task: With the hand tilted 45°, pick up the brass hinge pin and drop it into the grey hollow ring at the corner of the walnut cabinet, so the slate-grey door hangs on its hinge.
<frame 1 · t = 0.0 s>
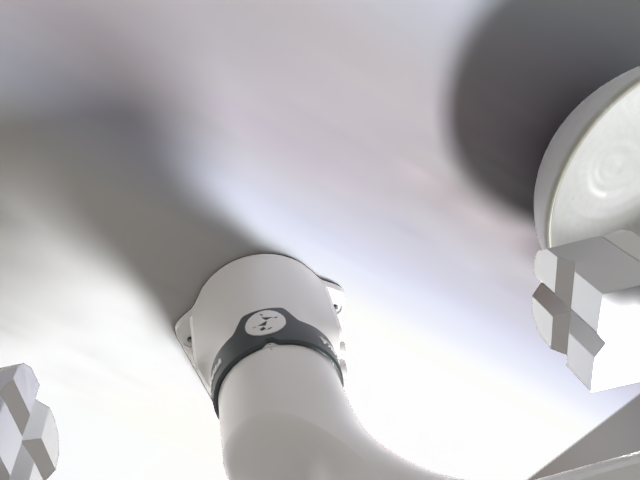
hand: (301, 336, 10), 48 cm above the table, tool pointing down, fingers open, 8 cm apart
decorative bowl: (598, 157, 67), on the table
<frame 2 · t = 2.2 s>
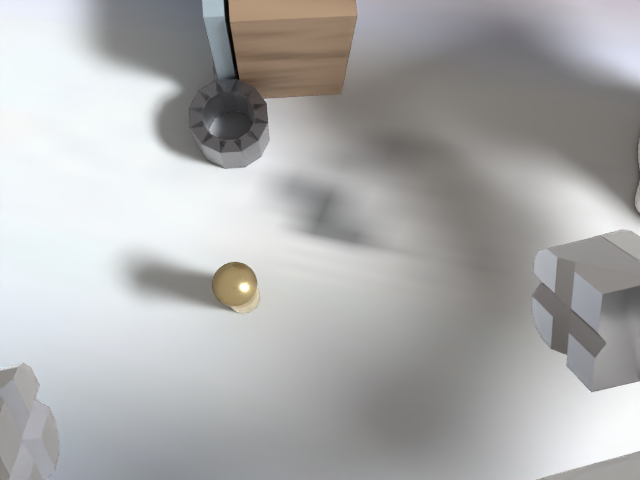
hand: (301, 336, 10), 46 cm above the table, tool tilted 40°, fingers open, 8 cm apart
hinge pin: (243, 296, 55), on the table
grey hollow ring: (232, 133, 58), on the table
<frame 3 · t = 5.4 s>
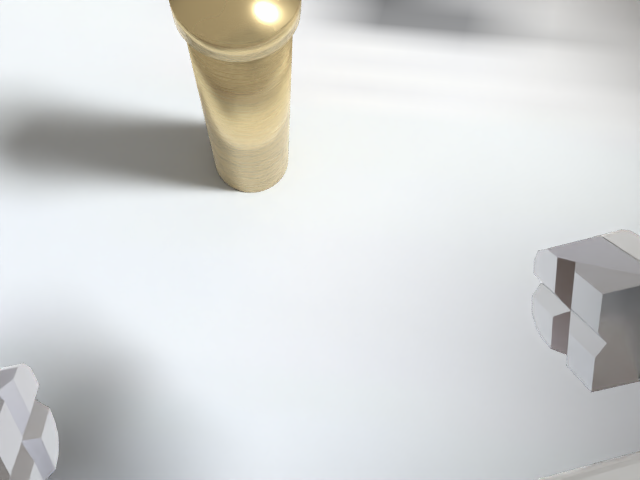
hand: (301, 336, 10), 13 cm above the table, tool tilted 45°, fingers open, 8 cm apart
hinge pin: (251, 158, 25), on the table
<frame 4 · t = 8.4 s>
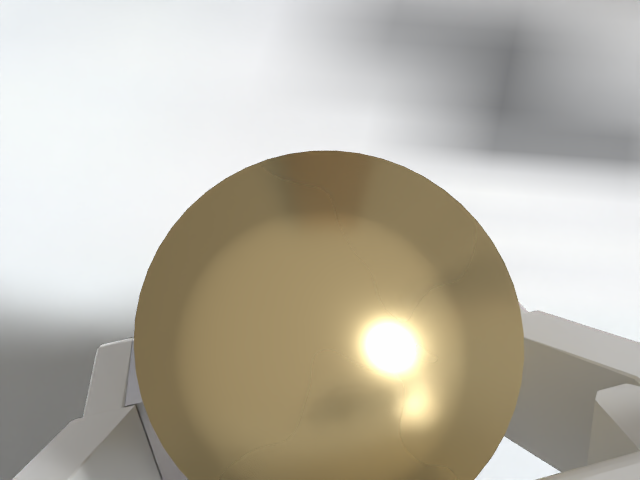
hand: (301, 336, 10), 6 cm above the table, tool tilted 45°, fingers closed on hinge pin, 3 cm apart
hinge pin: (299, 399, 15), on the table, touching gripper
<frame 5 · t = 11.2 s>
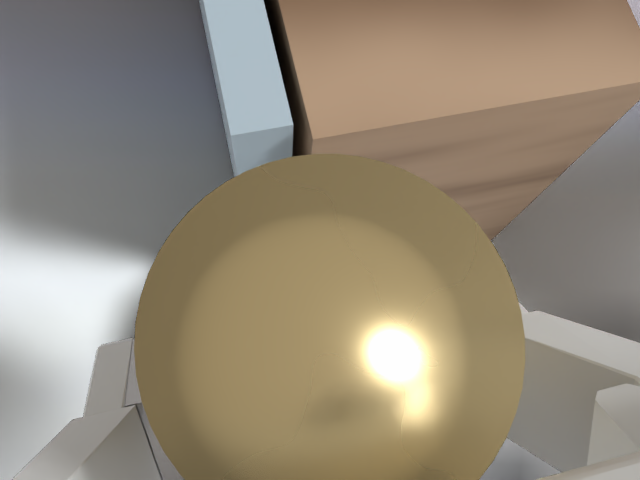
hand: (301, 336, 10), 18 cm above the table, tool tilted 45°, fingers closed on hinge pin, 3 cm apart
hinge pin: (300, 400, 15), point 12 cm above the table, touching gripper
when the fingers open (7 cm above the table, at t = 14.4 s): hinge pin drops 1 cm, resting in grey hollow ring.
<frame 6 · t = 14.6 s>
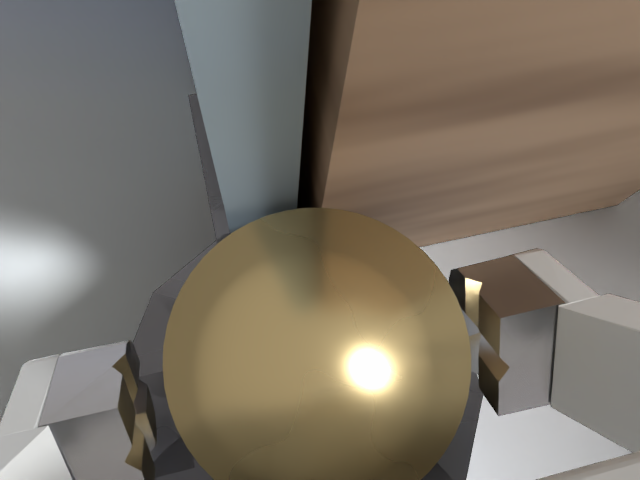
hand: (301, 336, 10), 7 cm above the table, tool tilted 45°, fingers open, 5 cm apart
hinge pin: (299, 403, 16), resting in grey hollow ring
grey hollow ring: (296, 402, 16), on the table
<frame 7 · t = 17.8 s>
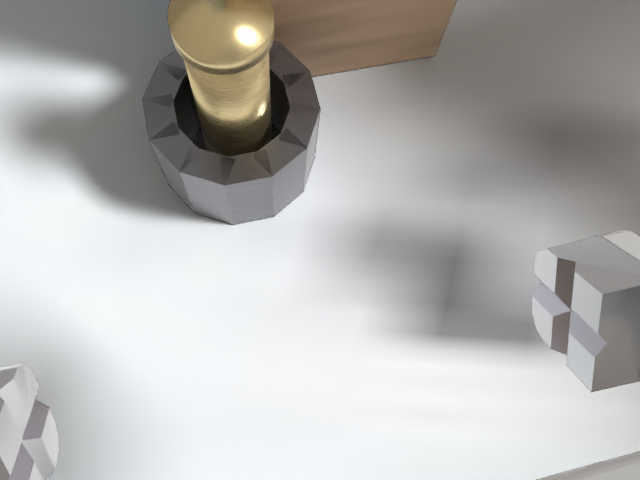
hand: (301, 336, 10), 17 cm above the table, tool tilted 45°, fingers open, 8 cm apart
hinge pin: (240, 154, 29), resting in grey hollow ring
grey hollow ring: (239, 153, 29), on the table
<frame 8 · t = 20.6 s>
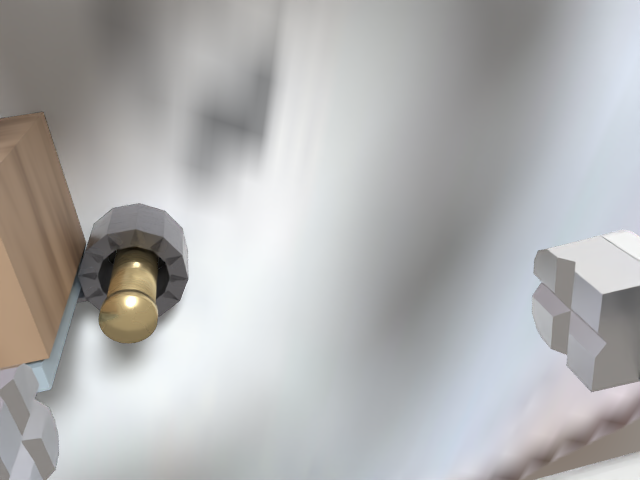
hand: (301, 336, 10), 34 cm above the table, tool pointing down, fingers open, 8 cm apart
hinge pin: (138, 246, 45), resting in grey hollow ring
grey hollow ring: (138, 247, 45), on the table
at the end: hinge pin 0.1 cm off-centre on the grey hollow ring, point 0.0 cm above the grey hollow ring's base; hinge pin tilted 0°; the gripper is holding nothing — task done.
